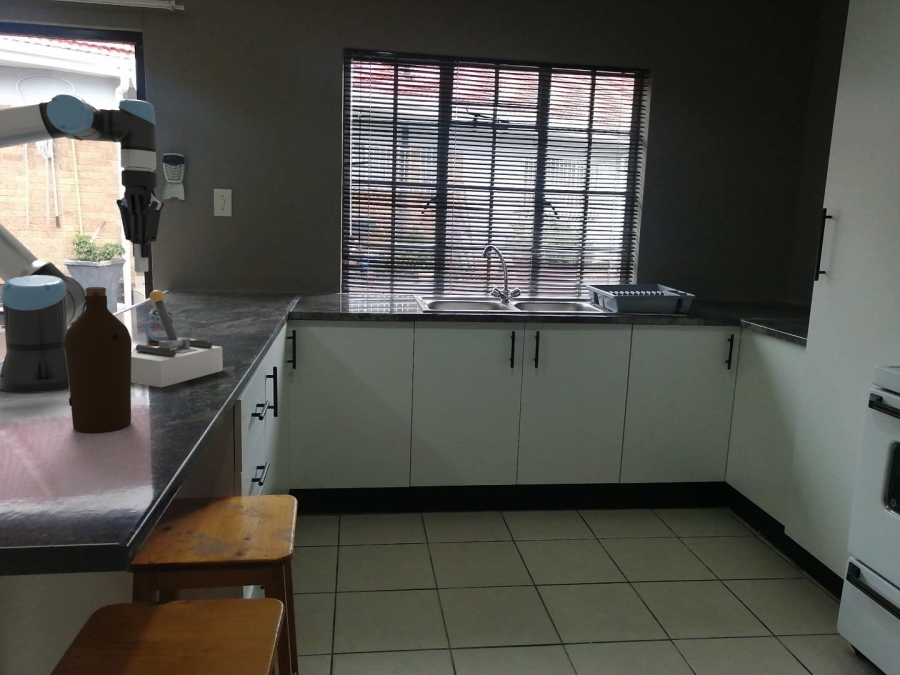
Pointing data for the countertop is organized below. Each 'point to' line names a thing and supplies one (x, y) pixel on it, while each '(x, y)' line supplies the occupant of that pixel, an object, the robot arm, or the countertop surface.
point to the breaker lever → (165, 318)
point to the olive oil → (98, 367)
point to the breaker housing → (174, 362)
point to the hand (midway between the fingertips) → (141, 271)
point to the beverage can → (156, 328)
